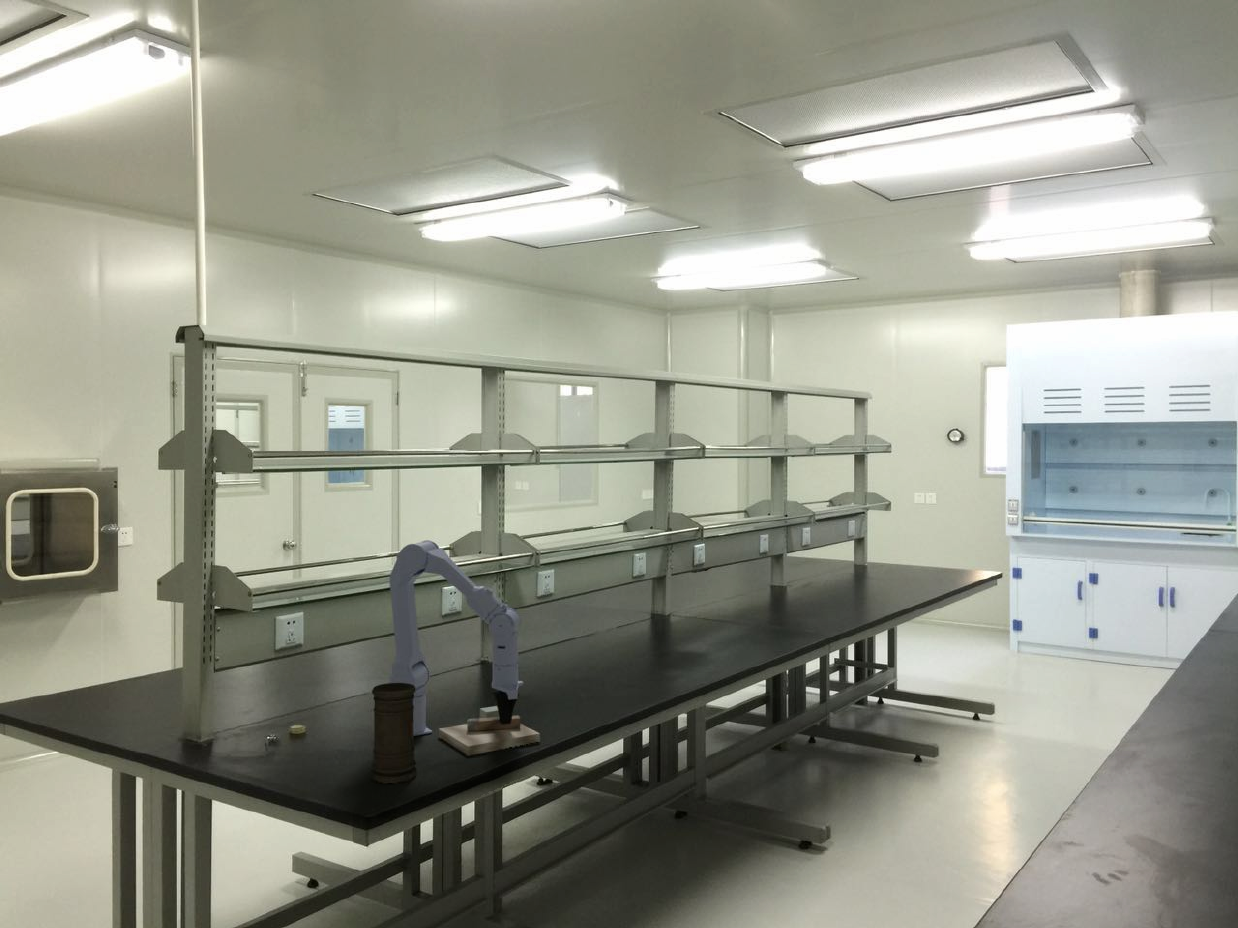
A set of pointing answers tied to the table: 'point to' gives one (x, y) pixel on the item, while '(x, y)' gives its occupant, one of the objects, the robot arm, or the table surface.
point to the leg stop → (489, 712)
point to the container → (393, 733)
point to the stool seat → (487, 738)
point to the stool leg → (491, 723)
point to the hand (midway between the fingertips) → (505, 723)
